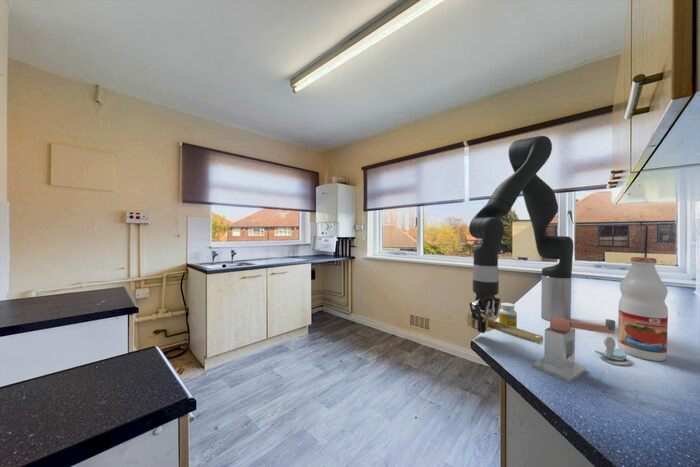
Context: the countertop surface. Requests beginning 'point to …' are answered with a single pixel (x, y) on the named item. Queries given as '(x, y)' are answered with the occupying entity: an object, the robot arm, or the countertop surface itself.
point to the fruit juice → (643, 312)
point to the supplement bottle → (508, 315)
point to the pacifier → (613, 353)
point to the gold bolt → (504, 329)
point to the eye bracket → (560, 356)
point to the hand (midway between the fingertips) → (485, 330)
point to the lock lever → (581, 325)
